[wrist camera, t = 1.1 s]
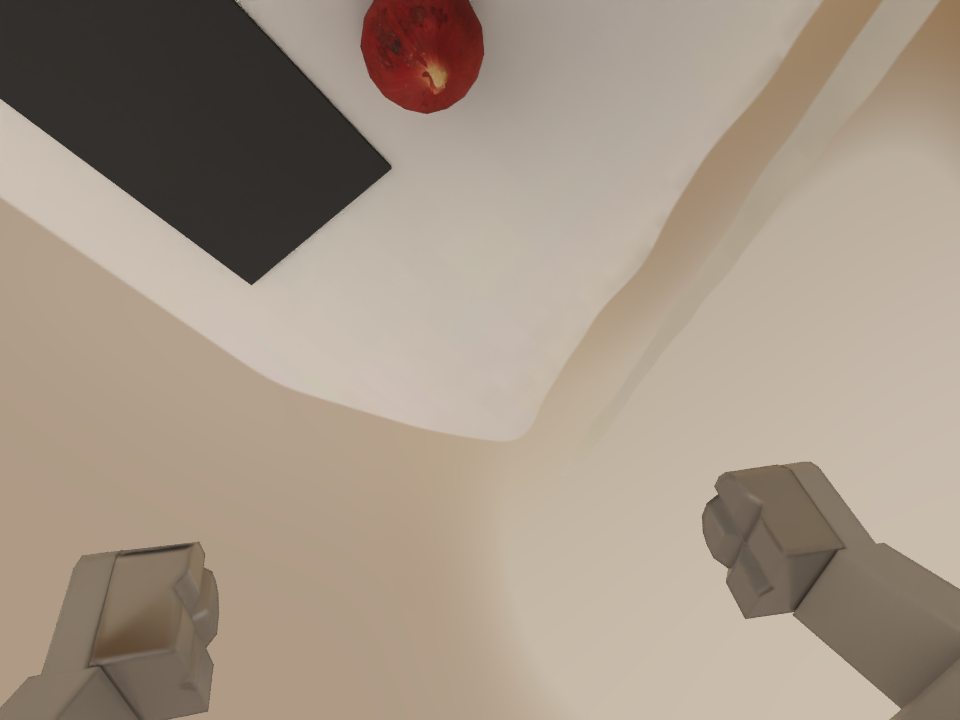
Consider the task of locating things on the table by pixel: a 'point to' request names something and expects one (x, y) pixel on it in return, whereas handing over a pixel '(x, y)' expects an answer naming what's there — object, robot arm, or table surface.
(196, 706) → the robot arm
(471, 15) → the red round fruit
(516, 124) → the table surface
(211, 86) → the placemat
